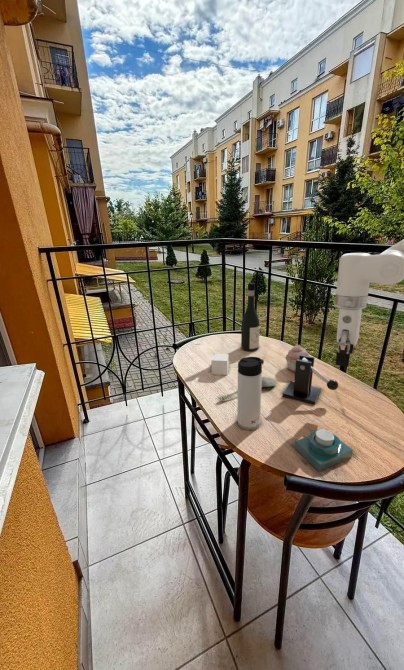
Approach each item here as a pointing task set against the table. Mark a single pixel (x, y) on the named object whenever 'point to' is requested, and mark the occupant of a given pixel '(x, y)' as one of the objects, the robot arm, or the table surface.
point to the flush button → (324, 437)
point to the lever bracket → (303, 382)
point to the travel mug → (249, 392)
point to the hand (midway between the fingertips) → (344, 358)
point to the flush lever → (324, 378)
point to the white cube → (220, 364)
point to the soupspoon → (265, 383)
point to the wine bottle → (250, 324)
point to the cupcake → (294, 356)
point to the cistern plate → (322, 451)
